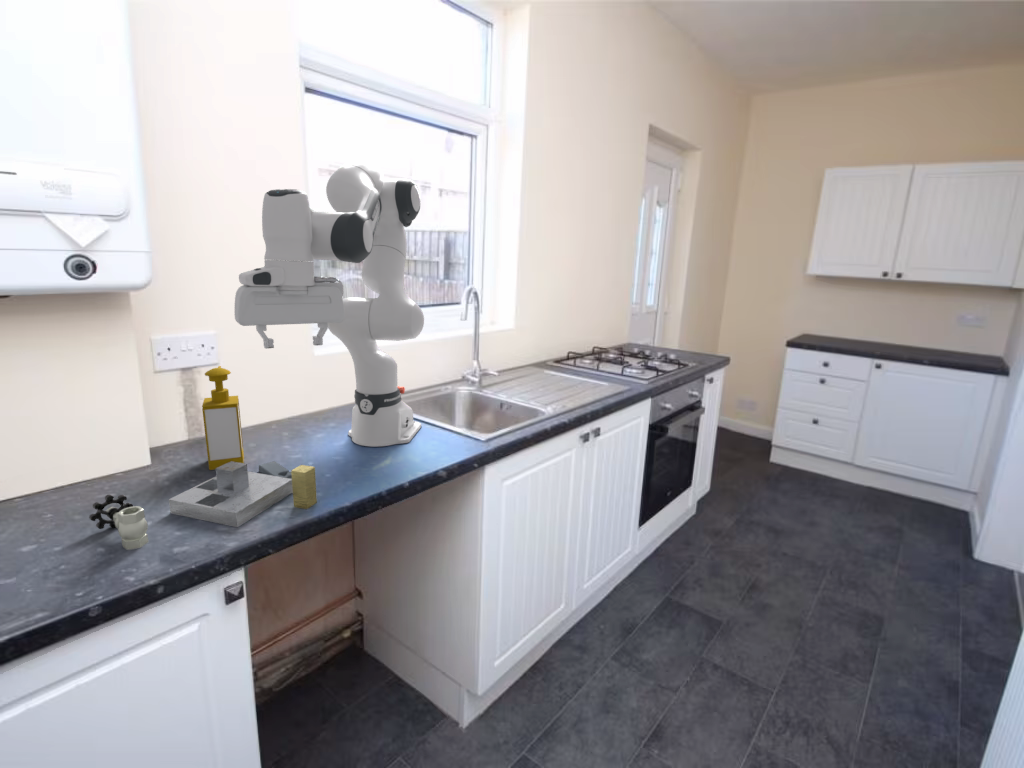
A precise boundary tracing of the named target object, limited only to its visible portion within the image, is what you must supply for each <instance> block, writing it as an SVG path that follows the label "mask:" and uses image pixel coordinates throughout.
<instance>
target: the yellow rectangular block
mask: <svg viewBox="0 0 1024 768" xmlns="http://www.w3.org/2000/svg"><path fill="white" fill-rule="evenodd" d="M290 472H291V475H292V488H293V493H292V500H293V507H294V508H297V509H298V508H299V509H304V510H308V509H310V508H311V507H313V506H315V504H317V503H318V498H317V496H318V495H317V482H316V481H317V478H316V467H315V466H313V465H305V464H300V465H299V466H296V467H295V468H293V469H291V471H290Z"/></svg>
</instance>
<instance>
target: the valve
mask: <svg viewBox="0 0 1024 768" xmlns="http://www.w3.org/2000/svg"><path fill="white" fill-rule="evenodd" d="M127 500H128V499H127V496H126V495H124V494H120V495H118V497H117V498H116V499H115V498H114V496H113V495H112V494H107V495H105V496H104V502H103V503H100V502H98V501H97V502H94V503H93V504H92V508H93V509H95V510H96V512H95V513H91V514H90V515H89V516H88V519H89V520H91V521H92V522H95V521H96V520H98V522H97V523H96V525H95V526H96V528H98V529H99V530H102V529H105V525H106V524H108V525H109V527H110V528H111V529H117V532H118V535H119V536H120V537H121V544H122V547H123V549H125V550H126V551H131V550H135V549H141V548H143V547H144V546H145V545H146V544H148V543H149V537H148V533H147V531H148V530H149V529H148V528H149V525H148V522H147V520H146V516H145V509H144V508H142V507H141V506H139V505H138V506H137V505H136V506H134V504H132V503H131V502H127V503H125V502H124V501H127ZM111 504H118V505H120V506H119V508H118V507H114V506H110V507H109V508H107V509H106V510H104V509H105V508H106V507H107V506H109V505H111ZM102 515H106V516H107V517H108V518H109V519H105V518H103V517H102Z"/></svg>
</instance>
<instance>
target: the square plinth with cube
mask: <svg viewBox="0 0 1024 768" xmlns="http://www.w3.org/2000/svg"><path fill="white" fill-rule="evenodd" d="M248 470H249V469H248V464H247V463H238V462H232V461H230V462H228V463H226V464H224V465H222V466H220V467H218V468H216V469H215V475H216V476H214V477H211V478H210V479H207V480H206V481H203V482H200V483H199V484H197V485H195V486H194V487H192V488H189V489H187V490H185V491H183V492H181V493H179V494H177V495H175V496H172V497H171V498H169V499H168V505H169V511H170V512H169V513H170V514H171V515H176V516H182V517H186V518H190V519H196V520H201V521H206V522H211V523H215V524H220V525H224V526H230V527H235V528H239V527H240V526H242V525H244V524H245V523H247V522H248V521H249V520H251V519H253V518H255V517H256V516H258V515H259V514H261V513H263V512H264V511H266V510H267V509H269V508H270V507H272V506H273V505H275V504H277V503H279V502H280V501H282V500H284V499H285V498H287V497H288V496H289V495H291V494H293V488H292V479H289V478H283V477H277V476H272V475H266V474H262V473H261V472H254V471H248Z"/></svg>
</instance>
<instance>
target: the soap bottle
mask: <svg viewBox="0 0 1024 768" xmlns="http://www.w3.org/2000/svg"><path fill="white" fill-rule="evenodd" d="M230 374H232V372H231V371H230V370H228V369H226V368H222V366H221V365H218V366H217V367H213V368H210V369H209V370H207V371H206V372H205V373H204V376H205V377H208V381H209V382H214V385H215V388H214V389H212V390H210V395H211V397H204V398H203V402H202V405H201V408H202V417H203V418H202V419H203V427H204V437H205V445H206V451H207V452H206V454H207V461H208V470H209V471H213V470H216V468H218V467H220V466H222V465H224V464H226V463H228V462H230V461H232V462H238V463H244V462H245V454H244V444H243V442H244V441H243V432H242V431H243V430H242V422H241V412H240V411H241V410H240V403H239V402H240V401H239V395H230V394H229V389H228V388H225V387H224V383H223V382H224V381H227V380H228V379H229V378H228V375H230ZM244 464H245V463H244Z"/></svg>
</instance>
